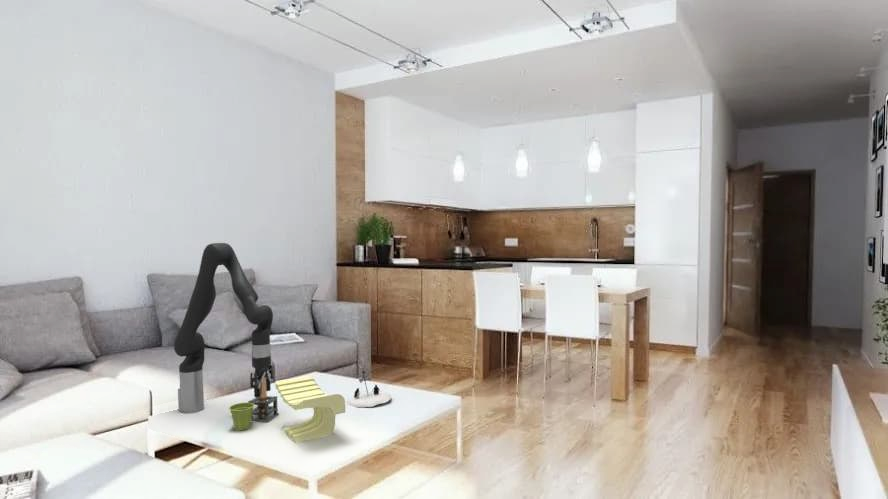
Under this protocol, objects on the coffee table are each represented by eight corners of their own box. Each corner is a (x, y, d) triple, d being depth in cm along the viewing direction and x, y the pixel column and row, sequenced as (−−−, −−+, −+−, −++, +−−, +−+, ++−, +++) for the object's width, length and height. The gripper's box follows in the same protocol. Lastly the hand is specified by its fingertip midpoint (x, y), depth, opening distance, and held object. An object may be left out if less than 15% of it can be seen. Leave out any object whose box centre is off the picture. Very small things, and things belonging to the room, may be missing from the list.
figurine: (395, 393, 266) (390, 358, 265) (387, 406, 248) (382, 369, 247) (352, 396, 268) (348, 362, 268) (341, 410, 250) (337, 373, 249)
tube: (257, 416, 237) (255, 378, 236) (261, 414, 240) (259, 375, 239) (265, 417, 236) (263, 378, 235) (269, 414, 239) (267, 376, 239)
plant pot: (240, 434, 221) (239, 411, 220) (224, 429, 226) (223, 407, 225) (260, 426, 228) (259, 404, 228) (244, 422, 233) (243, 401, 233)
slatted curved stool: (346, 440, 213) (344, 392, 212) (304, 450, 204) (302, 400, 203) (315, 417, 238) (314, 374, 237) (276, 425, 229) (275, 381, 228)
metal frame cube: (247, 421, 234) (246, 401, 234) (258, 413, 243) (258, 395, 243) (268, 422, 233) (267, 402, 232) (278, 415, 241) (278, 396, 241)
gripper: (261, 350, 244) (262, 388, 245) (243, 358, 230) (244, 398, 231) (278, 351, 243) (279, 389, 244) (261, 359, 229) (262, 399, 230)
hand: (262, 393), depth 237 cm, fingers open, 8 cm apart
